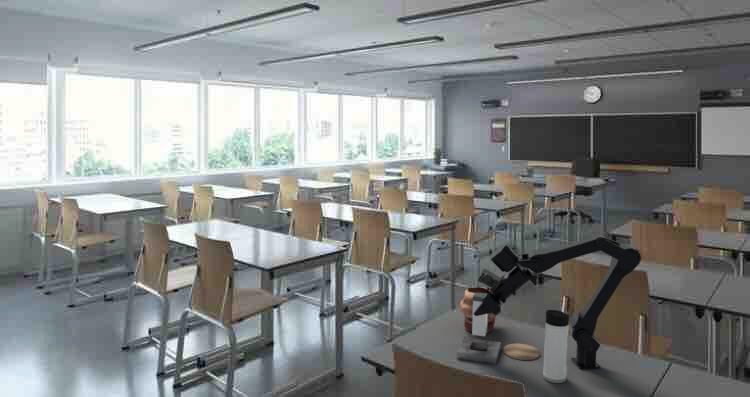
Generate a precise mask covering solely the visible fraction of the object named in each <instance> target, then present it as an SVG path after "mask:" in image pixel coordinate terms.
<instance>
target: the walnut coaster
mask: <svg viewBox="0 0 750 397" xmlns="http://www.w3.org/2000/svg"><path fill="white" fill-rule="evenodd" d="M503 353H504V354H505V355H506V356H507V357H510V358H512V359H515V360H519V361H520V360H521V361H531V360H535V359H537V358H539V357H540V354H541V353H540V350H539V349H538V348H537V347H535V346H532V345H531V344H526V343H519V342H518V343H509V344H506V345H504V347H503Z"/></svg>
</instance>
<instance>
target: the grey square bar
mask: <svg viewBox="0 0 750 397" xmlns="http://www.w3.org/2000/svg"><path fill="white" fill-rule="evenodd" d="M483 295H486V293H476V292H475V294H474V295H473V320H472V331H471V332H472V333H471V334H472V335H471V336H477V337H478V336H479V337H486V335H487V333H488V332H487V314H484V315H480V316H475V315H474V312H475V311H476V310H477V309H478V307H479V306H480V305H481V304H482V303H483V302H482V297H483Z"/></svg>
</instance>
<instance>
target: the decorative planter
mask: <svg viewBox="0 0 750 397" xmlns="http://www.w3.org/2000/svg"><path fill="white" fill-rule="evenodd" d="M487 288H488V287H482V286H480V287H479V286H470V287H468V288H467V289H466V290H465V291H464V297H463V299H462V300H461V301H460V303H459V309H460V311H461V313H462V314H463V318H464V322H463V323H464V326H463V327H464V328H465V330H467V331H470V332H472V320H473V295H474V294H475V292H476V293H486V289H487ZM496 317H497V315H496V316H495V315H494V314H493V313H489V314H487V333H489V332H491V331H492V330H493V329H494V326H495V322H496Z"/></svg>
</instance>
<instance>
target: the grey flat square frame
mask: <svg viewBox="0 0 750 397" xmlns="http://www.w3.org/2000/svg"><path fill="white" fill-rule="evenodd" d="M501 349H502V342H500V341H492V340H485V339H478V338H472V337H463V339H462V341H461V343H460V345H459V347H458V349H457V350H456V359H459V360H465V361H466V360H467V361H471V362H478V363H479V362H480V363H487V364H492V365H497V362H498V359H499V357H500V356H499V354H500V352H501Z"/></svg>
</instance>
